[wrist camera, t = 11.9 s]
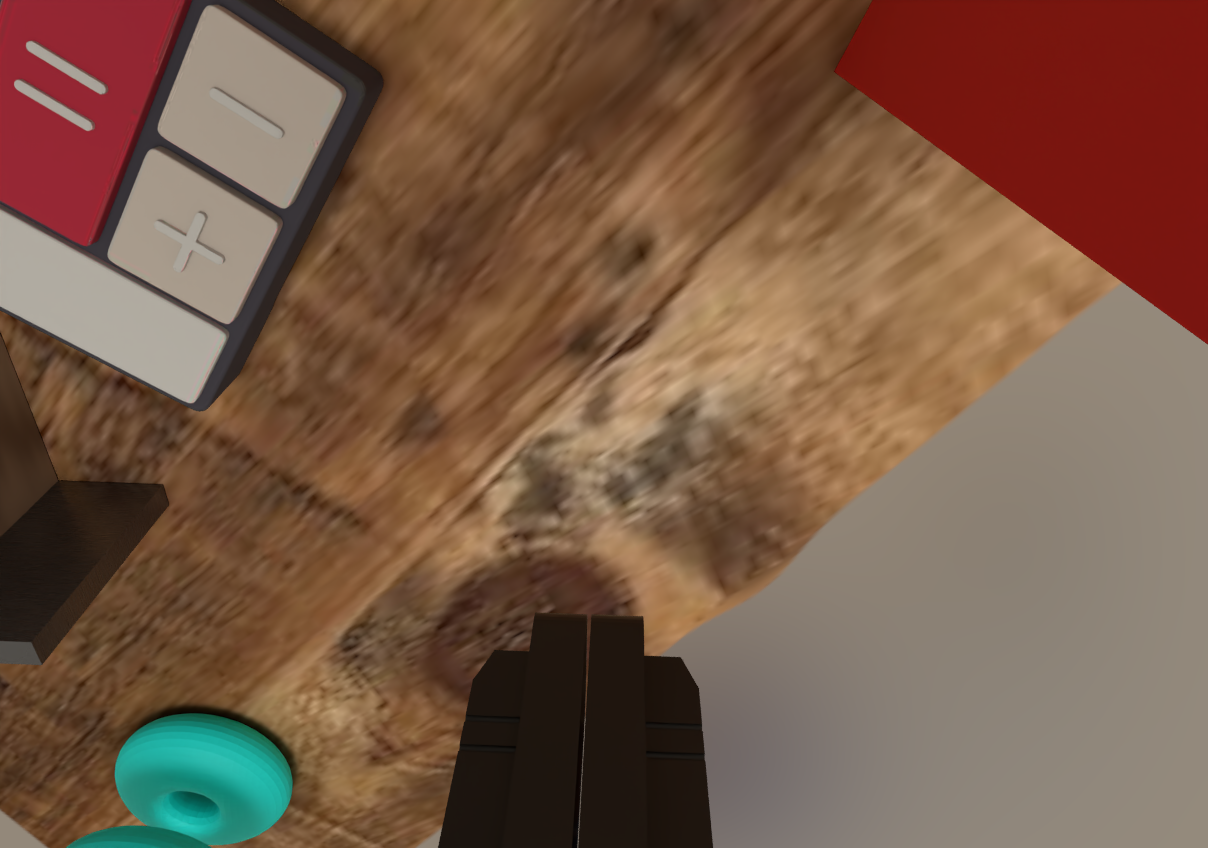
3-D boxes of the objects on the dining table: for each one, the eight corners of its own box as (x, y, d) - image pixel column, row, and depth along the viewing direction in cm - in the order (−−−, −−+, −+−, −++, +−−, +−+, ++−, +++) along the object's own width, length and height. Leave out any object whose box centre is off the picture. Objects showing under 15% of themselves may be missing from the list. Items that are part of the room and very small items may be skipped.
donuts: (46, 968, 43) (7, 862, 38) (142, 796, 52) (121, 691, 47) (237, 989, 44) (224, 888, 39) (301, 817, 53) (297, 715, 47)
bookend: (37, 479, 39) (-130, 636, 30) (162, 484, 39) (31, 642, 30) (45, 500, 40) (-116, 658, 31) (168, 505, 40) (42, 664, 31)
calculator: (364, 89, 26) (195, 426, 32) (394, 74, 30) (237, 379, 36) (15, -144, 23) (-101, 276, 29) (96, -128, 27) (-21, 241, 33)
